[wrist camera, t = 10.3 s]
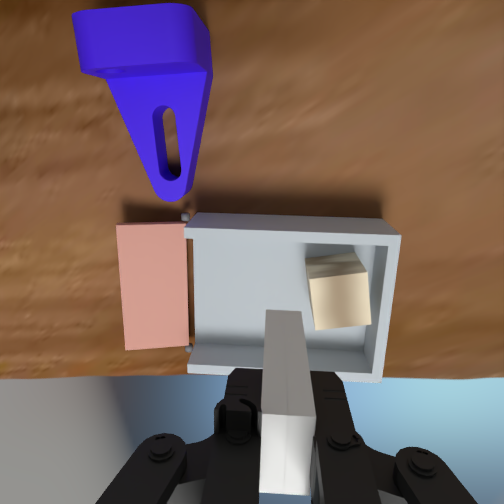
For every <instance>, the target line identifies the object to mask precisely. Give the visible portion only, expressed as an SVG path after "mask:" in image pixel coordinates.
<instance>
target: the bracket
mask: <svg viewBox="0 0 504 504" xmlns="http://www.w3.org/2000/svg"><path fill="white" fill-rule="evenodd" d="M72 20H73V26H74V32H75V38H76V44H77V49H78V55H79V61H80V67H81V72H82V73H85V74H89V75H93V76H96V77H100V78H104V79H106V81H107V83H108V85H109V88H110V90H111V92H112V95H113V97H114V99H115V101H116V104H117V106H118V108H119V111H120V113H121V115H122V117H123V120H124V122H125V124H126V127H127V129H128V131H129V133H130V136H131V138H132V140H133V143H134V145H135V147H136V149H137V152H138V154H139V156H140V159H141V161H142V163H143V165H144V168H145V170H146V172H147V175H148V177H149V179H150V181H151V184H152V186H153V188H154V191H155V193H156V194H157V195H158V197H160V198H161V199H162V200H165V201H168V202H173V201H177V200H179V199H180V198H181V197H183V196H184V195H185V194H187V193H188V192H189V191H190V190H191V188H192V185H193V180H194V174H195V169H196V164H197V158H198V153H199V148H200V143H201V137H202V132H203V127H204V121H205V116H206V111H207V105H208V100H209V95H210V89H211V84H212V79H213V70H212V58H211V46H210V34H209V31H208V29H207V28H206V26H205V25H204V23H203V22H202V21H201V19H200V18H199V16H198V15H197V13H196V12H195V11H194V9H193V8H192V7H191V6H188V5H184V4H178V3H161V4H149V5H138V6H126V7H115V8H103V9H92V10H82V11H78V12H75V13H73V14H72ZM169 107H170V108H171V109H172V110H173V111H174V113H175V117H176V126H177V135H178V144H179V153H180V162H181V175H180V177H177V176H174V175H173V174H172V173H171V172H170V171H169V168H168V161H167V153H166V144H165V136H164V128H163V119H162V116H163V113H164V111H165V110H166V109H167V108H169Z"/></svg>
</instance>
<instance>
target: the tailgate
mask: <svg viewBox="0 0 504 504" xmlns="http://www.w3.org/2000/svg"><path fill="white" fill-rule="evenodd" d="M185 226H186V222H185V221H183V222H137V223H117V224H116V233H117V246H118V258H119V271H120V284H121V297H122V310H123V323H124V335H125V348H126V350H136V349H148V348H161V347H173V346H186V345H189V328H188V289H187V250H186V238H184V227H185Z"/></svg>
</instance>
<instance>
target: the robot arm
mask: <svg viewBox="0 0 504 504" xmlns="http://www.w3.org/2000/svg"><path fill="white" fill-rule="evenodd" d="M310 487H311V497H312V498H311V504H478V503H477V502H476V501H475V500H474V498H473V497H472V496H471V495H470V493H469V492H468V491H467V490H466V489H465V487H464V486H463V485H462V483H461V482H460V481H459V480H458V479H457V477H456V476H455V475H454V474H453V472H452V471H451V470H450V469H449V467H448V466H447V465H446V463H445V462H444V461H443V460H442V459H440V458H439V457H438V456H437V455H435V454H434V453H432V452H430V451H428V450H426V449H422V448H418V447H406V448H403V449H400V450H399V452H398V453H397V454H396V457H394V456H390V455H387V454H384V453H381V452H378V451H376V450H373V449H372V448H370V447H368V446H367V445H366V444H365V442H364V441H363V439H362V437H361V436H360V435H359V434H358V433H357V432H356V431H355V428H354V423H353V420H352V416H351V412H350V408H349V404H348V401H347V397H346V393H345V389H344V385H343V382H342V380H341V379H340V378H339V377H338V375H337V374H336V373H335V372H329V371H310V369H309V362H308V355H307V348H306V341H305V334H304V327H303V320H302V313H301V311H289V310H267V309H266V317H265V337H264V357H263V369H253V368H235V369H234V370H233V371H232V372H231V373H230V374H229V375H228V380H227V385H226V390H225V396H224V399H222V400H221V401H220V402H219V403H217V405H216V407H215V409H214V434H213V435H211V436H210V437H209V438H207V439H205V440H203V441H200V442H196V443H191V444H186V445H185V442H184V441H183V440H182V439H181V438H180V437H178V436H176V435H174V434H167V433H162V434H158V435H154V436H152V437H149V438H147V439H146V440H145V441H143V443H141V444H140V445H139V446H138V448H137V449H136V450H135V452H134V453H133V454H132V456H131V457H130V458H129V460H128V461H127V462H126V464H125V465H124V466H123V468H122V469H121V470H120V472H119V473H118V474H117V475H116V477H115V478H114V480H113V481H112V482H111V483H110V485H109V486H108V487H107V489H106V490H105V491H104V493H103V494H102V496H101V497H100V498H99V500H98V501H97V502H96V503H95V504H259V492H264V493H265V492H266V493H280V494H295V495H310Z"/></svg>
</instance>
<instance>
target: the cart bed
mask: <svg viewBox="0 0 504 504" xmlns="http://www.w3.org/2000/svg"><path fill="white" fill-rule="evenodd" d="M181 220H182V221H189V220H190V213H181ZM184 238H189V239H193V255H194V305H195V345H194V348H193V345H192V343H189V345H186V346H185V351H186V352H192V353H191V356H190V359H189V361H188V364H187V365H188V373H198V374H218V375H229V374H230V373H231V372H232V371H233V370H234V369H235V368H253V369H263V357H264V337H265V317H266V309H267V310H289V311H301V313H302V320H303V327H304V334H305V341H306V348H307V355H308V362H309V369H310V371H329V372H335V373H336V374H337V375H338V377H339V378H340V379H341V380H342V381H353V382H354V381H355V382H372V383H381V380H382V373H383V366H384V359H385V352H386V344H387V337H388V330H389V322H390V315H391V308H392V301H393V293H394V286H395V279H396V272H397V264H398V257H399V250H400V242H401V235H400V234H399V233H398V232H397V231H396V230H395V229H394V228H392V227H391V226H390V225H389V224H388V223H387V222H386V221H384V220H383V219H378V218H348V217H319V216H290V215H261V214H232V213H203V212H197V213H196V214H195V215H194V217H193V218H192V219H191V220H190V221H189V222H188V223H187V224H186V226H185V227H184ZM351 252H355V253H356V255H357V256H358V258H359V259H360V261H361V263H362V264H363V266H364V267H365V269H366V271H367V272H368V285H369V298H370V312H371V324H370V325H361V326H352V327H343V328H334V329H325V330H315V326H314V321H313V316H312V311H311V306H310V299H309V291H308V283H307V274H306V266H305V258H312V257H319V256H327V255H335V254H343V253H351Z"/></svg>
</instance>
